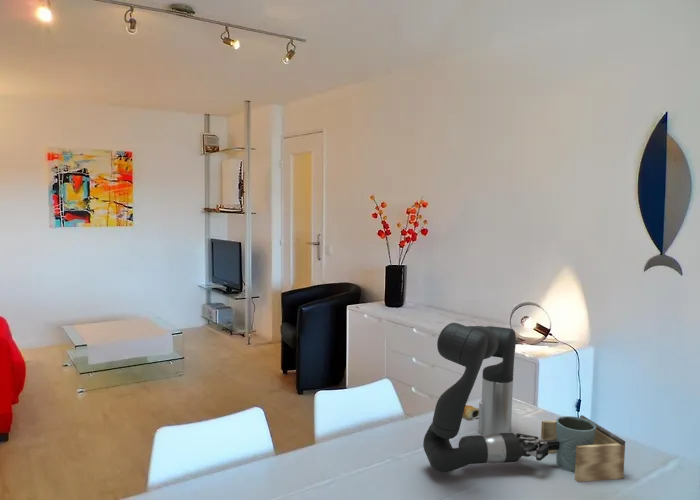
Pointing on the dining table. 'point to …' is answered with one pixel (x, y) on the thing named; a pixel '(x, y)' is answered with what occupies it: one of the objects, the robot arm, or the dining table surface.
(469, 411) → the pastry
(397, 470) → the dining table surface
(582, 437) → the green ceramic pot
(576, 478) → the oak caddy
